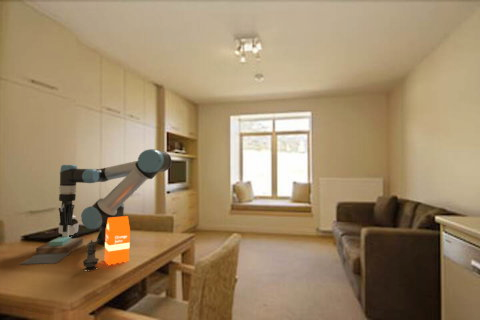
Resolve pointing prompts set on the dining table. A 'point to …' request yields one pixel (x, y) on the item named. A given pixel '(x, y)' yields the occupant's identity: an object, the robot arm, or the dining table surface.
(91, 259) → the black chess piece
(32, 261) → the mat
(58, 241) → the card
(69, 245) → the brown flat block
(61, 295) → the dining table surface
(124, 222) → the orange juice
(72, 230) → the spread jar
